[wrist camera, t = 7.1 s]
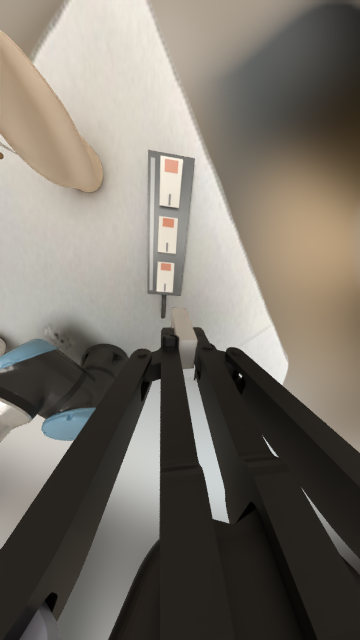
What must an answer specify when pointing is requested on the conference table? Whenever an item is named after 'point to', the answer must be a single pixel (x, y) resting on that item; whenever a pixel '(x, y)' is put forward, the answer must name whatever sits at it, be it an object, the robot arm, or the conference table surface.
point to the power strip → (166, 211)
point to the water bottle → (42, 124)
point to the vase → (2, 347)
